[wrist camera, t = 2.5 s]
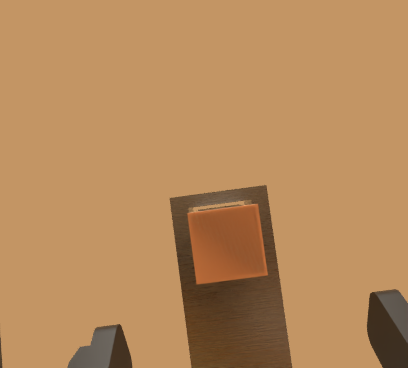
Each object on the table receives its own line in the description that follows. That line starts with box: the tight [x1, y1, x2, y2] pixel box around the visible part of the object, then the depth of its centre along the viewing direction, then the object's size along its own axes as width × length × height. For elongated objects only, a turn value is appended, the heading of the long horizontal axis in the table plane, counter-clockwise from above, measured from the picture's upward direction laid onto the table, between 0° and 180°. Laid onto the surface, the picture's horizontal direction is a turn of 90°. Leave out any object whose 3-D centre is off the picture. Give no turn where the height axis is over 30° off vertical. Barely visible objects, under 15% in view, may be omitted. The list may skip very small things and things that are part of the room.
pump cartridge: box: [187, 204, 268, 284], centre depth 31 cm, size 4×15×4 cm, turn 179°
